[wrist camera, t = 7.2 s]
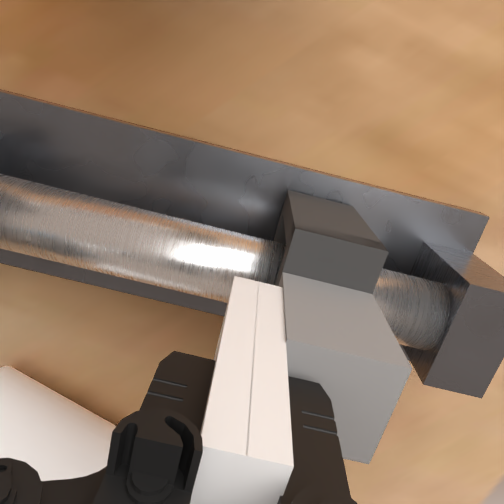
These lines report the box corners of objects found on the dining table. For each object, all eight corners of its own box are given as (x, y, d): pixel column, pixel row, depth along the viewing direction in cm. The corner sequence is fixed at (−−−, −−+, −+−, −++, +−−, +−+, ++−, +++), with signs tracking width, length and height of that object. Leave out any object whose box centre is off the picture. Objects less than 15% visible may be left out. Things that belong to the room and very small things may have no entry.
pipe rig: (-43, 244, 21) (-149, 292, 16) (-44, 78, 18) (-171, 68, 13) (417, 354, 22) (463, 434, 17) (481, 212, 19) (560, 254, 14)
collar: (254, 307, 20) (241, 481, 11) (287, 189, 18) (305, 281, 9) (313, 321, 21) (350, 505, 11) (352, 206, 19) (437, 312, 9)
